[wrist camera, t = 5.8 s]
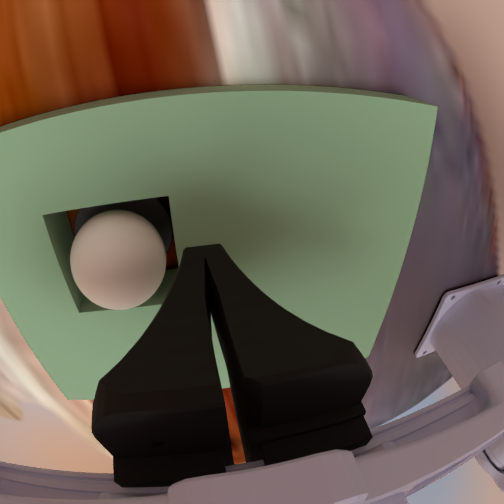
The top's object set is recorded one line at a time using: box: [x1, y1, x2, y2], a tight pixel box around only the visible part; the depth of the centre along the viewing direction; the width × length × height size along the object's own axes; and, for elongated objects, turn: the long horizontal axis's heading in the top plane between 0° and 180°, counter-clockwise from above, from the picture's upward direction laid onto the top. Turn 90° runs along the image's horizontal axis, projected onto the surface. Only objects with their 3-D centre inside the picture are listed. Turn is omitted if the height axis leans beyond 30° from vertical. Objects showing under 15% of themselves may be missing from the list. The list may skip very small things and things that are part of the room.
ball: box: [70, 210, 166, 310], centre depth 12 cm, size 4×4×4 cm
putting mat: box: [0, 84, 438, 400], centre depth 15 cm, size 20×16×2 cm
